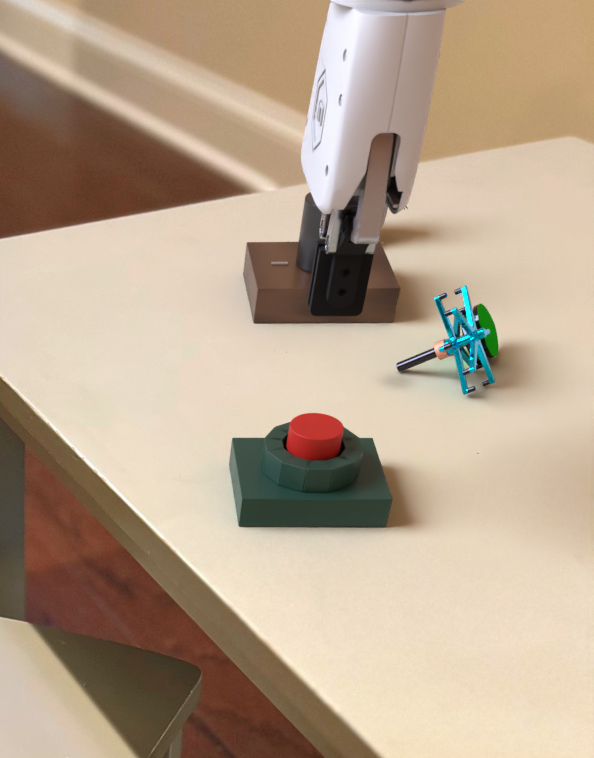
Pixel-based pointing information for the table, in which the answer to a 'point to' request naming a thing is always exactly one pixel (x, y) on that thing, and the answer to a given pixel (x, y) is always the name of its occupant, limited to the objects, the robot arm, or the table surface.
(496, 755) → the table surface
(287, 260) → the panel
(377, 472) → the button base
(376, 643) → the table surface
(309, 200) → the dial
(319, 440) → the red push button
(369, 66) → the robot arm
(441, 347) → the stick construction toy
